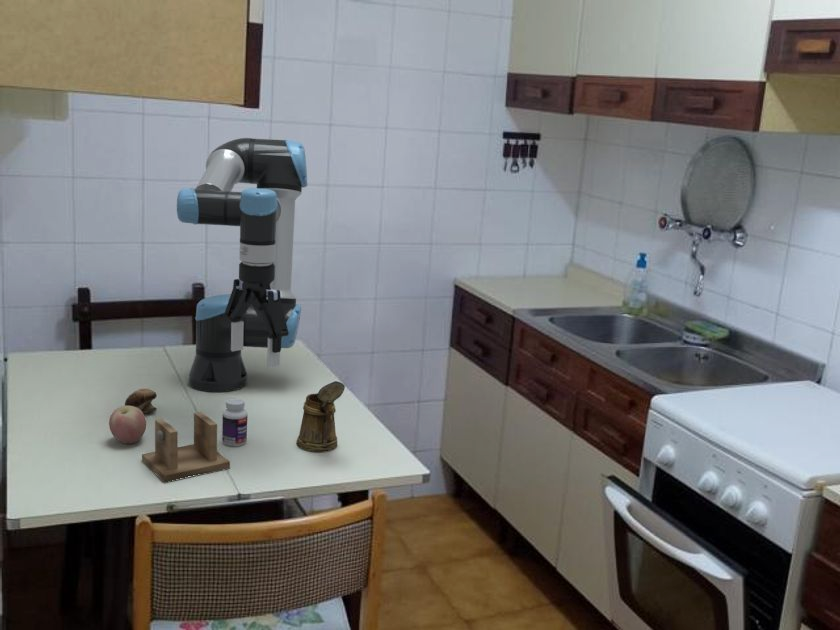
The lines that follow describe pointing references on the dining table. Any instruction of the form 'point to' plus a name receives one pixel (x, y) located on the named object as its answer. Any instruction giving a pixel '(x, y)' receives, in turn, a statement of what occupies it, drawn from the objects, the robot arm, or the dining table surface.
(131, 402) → the mushroom
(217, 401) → the dining table surface
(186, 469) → the holder
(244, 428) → the pill bottle
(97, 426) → the dining table surface
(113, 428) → the apple
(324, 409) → the wooden mug
